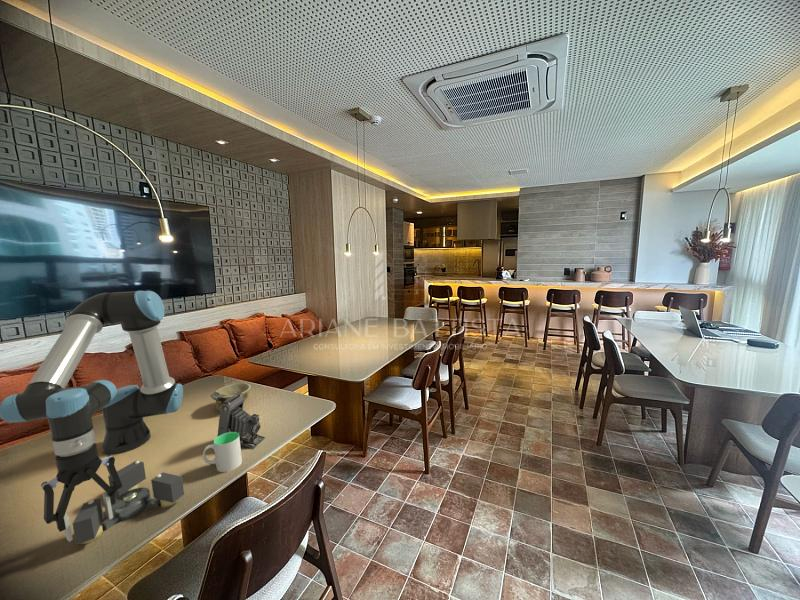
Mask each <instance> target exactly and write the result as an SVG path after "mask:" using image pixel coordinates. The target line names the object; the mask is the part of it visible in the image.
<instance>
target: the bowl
mask: <svg viewBox="0 0 800 600" xmlns="http://www.w3.org/2000/svg"><path fill="white" fill-rule="evenodd" d="M251 387H252V386H251V385H250V384H249V383H247V382H236V383H231V384H228V385H225V386H223V387H220V388H218V389H217V390H215V391H214V392H213V393H211V395H210V398H211V399H212V400H214V401H215V409H216V410H217V411H219V412H220V408H221V405H222V404H223V403H224V401H226V400H228V399H229V398H230V397H232V396H233V395H235V394H237V393H238V392H241V393H242V394H241V395H243V397H244V402H245V401H246V400H247V399H248V397H249V393H250V391H251Z"/></svg>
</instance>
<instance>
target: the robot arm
mask: <svg viewBox="0 0 800 600" xmlns="http://www.w3.org/2000/svg"><path fill="white" fill-rule="evenodd" d="M164 317H165V305H164V302H163V300H162V298H161V297H160V296H159V294H158V293H156V292H155V291H153V290H132V291H116V292H102V293H98V294H96V295H93V296H91V297H88V298H87V299H85V300H83V301H82V302H81V303H80V304H77V305H76V307H75V308H73V309H72V310H71V312H70V313H68V315H67V316H66V318H65V320H64V325H65V327H64V329H63V330H62V332H61V333H60V335H59V336H58V338H57V339H56V341H55V342H54V344H53V346H52V347H51V348H50V350H49V352H48V354H47V355H46V356H45V358H44V360H42V362H41V364H40V366H39V367H38V368H37V370H36V372H35V374H34V375H33V377H31V379H30V381H29V383H28V384H27V386H26V387H24V388H25V389H24V390H23V392H21V393H20V392H19V393H15V394H11V395H9V396H7V397H5V398H4V399H3V400H2V401H1V403H0V419H1V420H2V421H3V422H6V423H9V424H10V423H11V424H12V423H26V422H27V423H28V422H30V421H37V420H43V419H47V421H48V427H49V430H50V434H51V442H52V446H53V447H52V449H53V453H54V455H55V464H56V467H57V474H56V476H55V477H54V478H53V479H51V480H48V481H44V482H42V483H41V485H40V487H41V489H42V490H43V493H44V494H43V496H44V497H43V498H44V499H43V500H44V501H43V520H44V523H46V524H47V525H48V524H51V523H53V522H56V523H55V524H56V529H57V530H58V532H60V533H61V532H63V531H64V535H65V539H66V540H67V541H68V543H70V542H71V541H73V539H74V538H73V534H72V529H71V523H70V517H69V516H68V514H67V508H68V506H69V504H70V501H71V497H72V494H73V492H74V490H75V488H76V486H79V485H81V484H82V483H85V482H87V481H90V480H91V479H92V480H93V481H94V482H95V483H96V484H97V485H98V486H99V487H101V489H102V490H103V491H104V492H105V493H103V494H102V498H103V503H104V509H105V516H106V517H107V519H108V518H109V519H111V518H113V513H112V507H111V505H113V504H115V502H116V501H115V499H116V495H115V491H116V490H117V489H120V488H121V487H122V483H121V481H120V478H119V476H118V473H117V471H118V470H117V468H116V465H115V460H116V457H114V456H113V455H115V454H120V453H121V454H122V453H125V452H128V451H131V450H134V449H136V448H139V447H140V446H142V445H143V444H145V443H147V442H149V440H150V439H151V437H152V433H151V430H150V428H149V427H148V426H147V423H146V422H145V421H144V418H148V417H152V416H153V417H154V416H160V415H167V414H171V413H176V412H177V411H178V410H179V409H180V408H181V405H182V402H183V398H184V397H183V396H184V387H183V385H182V383H176V380H175V378H174V377H172V376H170V374H169V370H168V366H167V362H166V358H165V357H166V356H165V354H164V350H163V346H162V343H161V337H160V333H159V330H158V327H159V325H160V324H161V323H162V322H161V321H162V320H163V319H164ZM118 324H120V326H121V329H122V331H123V332H127V333H128V334H129V338H130V342H131V345H132V348H133V351H134V355H135V358H136V362H137V363H136V364H137V365H138V366H137V367H138V369H139V373H140V377H141V380H142V385H141V387H139V386H138V384H131V385H126V386H123V387H119V388H117V387H116V385H115V384H114V382H111V381H110V380H106V379H98V380H95V381H91V382H90V383H88V384H86V385H81V386H73V387H67V385H68V383H69V381H70V379H72V376H73V375H74V372H75V371H76V369H77V367H78V366H79V363H80V362H81V360H82V358H83V356H84V354H85V352H86V351H87V349H88V347H89V345H90V344H91V342H92V340H93V339H94V337H95V335H96V334H98V333H100V332H101V331H102V329H103V328H104V327H105V326H107V325H118ZM101 410H102V416H103V421H104V427H105V434H104V437H103V441H102V445H101V446H102V452H103V453H104V454H107V456H106V457H102V458H100V457H99V453H98V445H97V443H96V436H95V428H94V424H93V416H94V415H95V414H96V413H98V412H99V411H101ZM102 464H103V466H105V468H106V469H107V472H108V475H109V476H110V477H111V480H112V482H113V485H112V486H111V487H110V484H109V483H107V482H106V481H105V480H104V479H103V478H102V477H101V476H100V475H98V473H97V471H99V468H100V467H101V466H102ZM58 483H62V484H63V489H62V490H63V491H62V492H61V496H60V498H59V502H58V505H57V508H56V510H55V509H54V508H55V507H54V505H55V504H54V502H55V491H54V490H55V489H56V487H57V484H58ZM54 511H55V512H54Z"/></svg>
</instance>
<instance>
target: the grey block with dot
mask: <svg viewBox="0 0 800 600" xmlns="http://www.w3.org/2000/svg"><path fill="white" fill-rule="evenodd" d="M116 471H117V473H118V476H119V478H120V481H121V483H122V487H121V488H120V489H117V490H116V491H115V496H117V497H119V496H120V495H122V494H123V493H125V492H127V491H130V490H133V489H136V488H140V487H139V484H140V483H142V482H143V481H144V480H146V479H147V476H146V470H145V462H143V461H140V460H135V461H133V462H131V463H129V464H128V465H126V466H124V467H122V468H120V469H119V470H116ZM107 478H108V485H109V486H110V487H111V486H112V485H113V482H112V480H111V477H110V475H109V476H108V477H107Z"/></svg>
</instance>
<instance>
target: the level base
mask: <svg viewBox="0 0 800 600" xmlns="http://www.w3.org/2000/svg"><path fill="white" fill-rule="evenodd" d="M115 501H116V502H115V504H113V505H111V507H112V513H113V518H111V519H109V518H108V517H107V519H105V520H104V521H102V523H101V524H102V529H104V530H106V531H107V530H108V529H110V528H111V527H112V526H114V525H115V524H117V523H119V522H124V521H127V520H131V519H133V518H135V517H137V516H139V515H140V514H142V513H143V512H145V511H146V510H147V509H151V508H152V509H153V508H158V507H159V506H160V505H161V502H160V499H157V498H152V497H151V491H150V489H149V488H148V487H139V488H136V489H133V490H130V491H127V492H125V493H123V494H122V495H120V496H117V497H115Z"/></svg>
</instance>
